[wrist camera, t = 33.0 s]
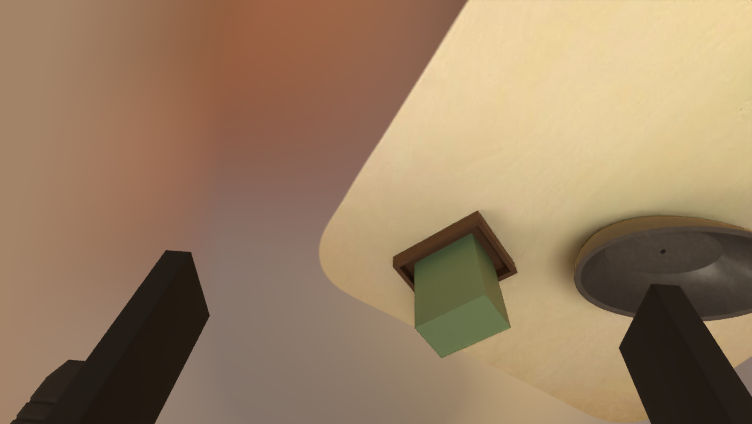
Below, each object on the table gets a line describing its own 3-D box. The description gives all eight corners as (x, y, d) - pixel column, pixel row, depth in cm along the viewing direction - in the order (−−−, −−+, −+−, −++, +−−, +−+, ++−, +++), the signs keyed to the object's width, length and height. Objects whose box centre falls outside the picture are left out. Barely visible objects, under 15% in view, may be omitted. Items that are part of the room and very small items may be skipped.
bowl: (734, 290, 54) (770, 327, 49) (547, 280, 55) (562, 315, 50) (781, 201, 48) (827, 232, 43) (570, 191, 49) (590, 220, 44)
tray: (393, 256, 55) (392, 266, 53) (477, 210, 51) (480, 219, 49) (431, 303, 58) (432, 313, 56) (514, 262, 54) (517, 272, 52)
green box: (414, 263, 55) (414, 328, 45) (472, 232, 52) (485, 294, 42) (436, 290, 56) (441, 358, 47) (493, 262, 54) (511, 327, 44)
